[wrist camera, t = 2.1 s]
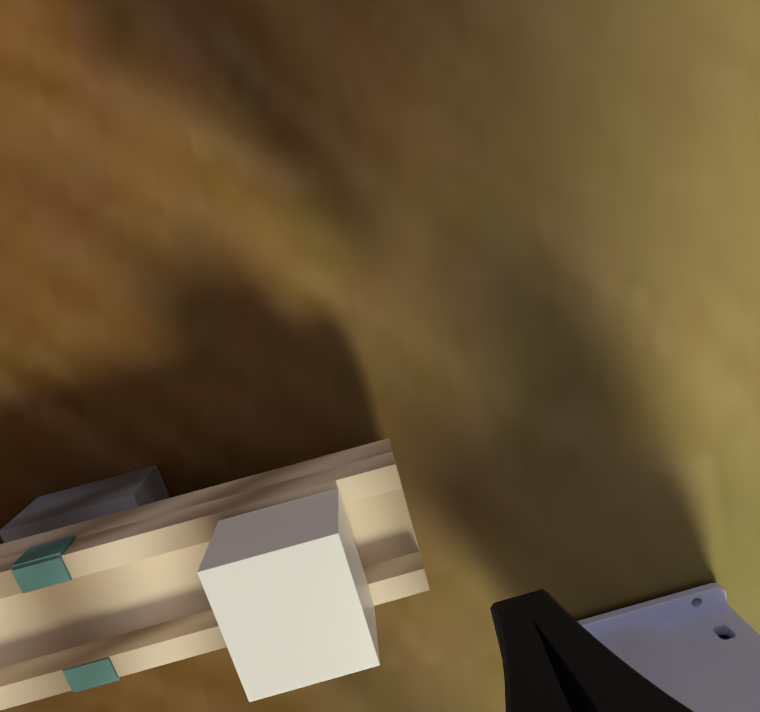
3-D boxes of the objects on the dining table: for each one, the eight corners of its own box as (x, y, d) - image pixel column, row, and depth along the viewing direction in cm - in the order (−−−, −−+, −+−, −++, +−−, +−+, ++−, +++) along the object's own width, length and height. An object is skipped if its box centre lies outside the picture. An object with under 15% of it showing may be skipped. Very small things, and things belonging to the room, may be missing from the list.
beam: (380, 403, 21) (399, 478, 15) (413, 527, 23) (444, 646, 16) (-192, 559, 21) (-435, 708, 14) (-120, 675, 22) (-311, 859, 16)
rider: (338, 472, 18) (338, 533, 14) (371, 583, 19) (380, 665, 15) (225, 503, 17) (196, 572, 14) (265, 612, 19) (249, 702, 15)
